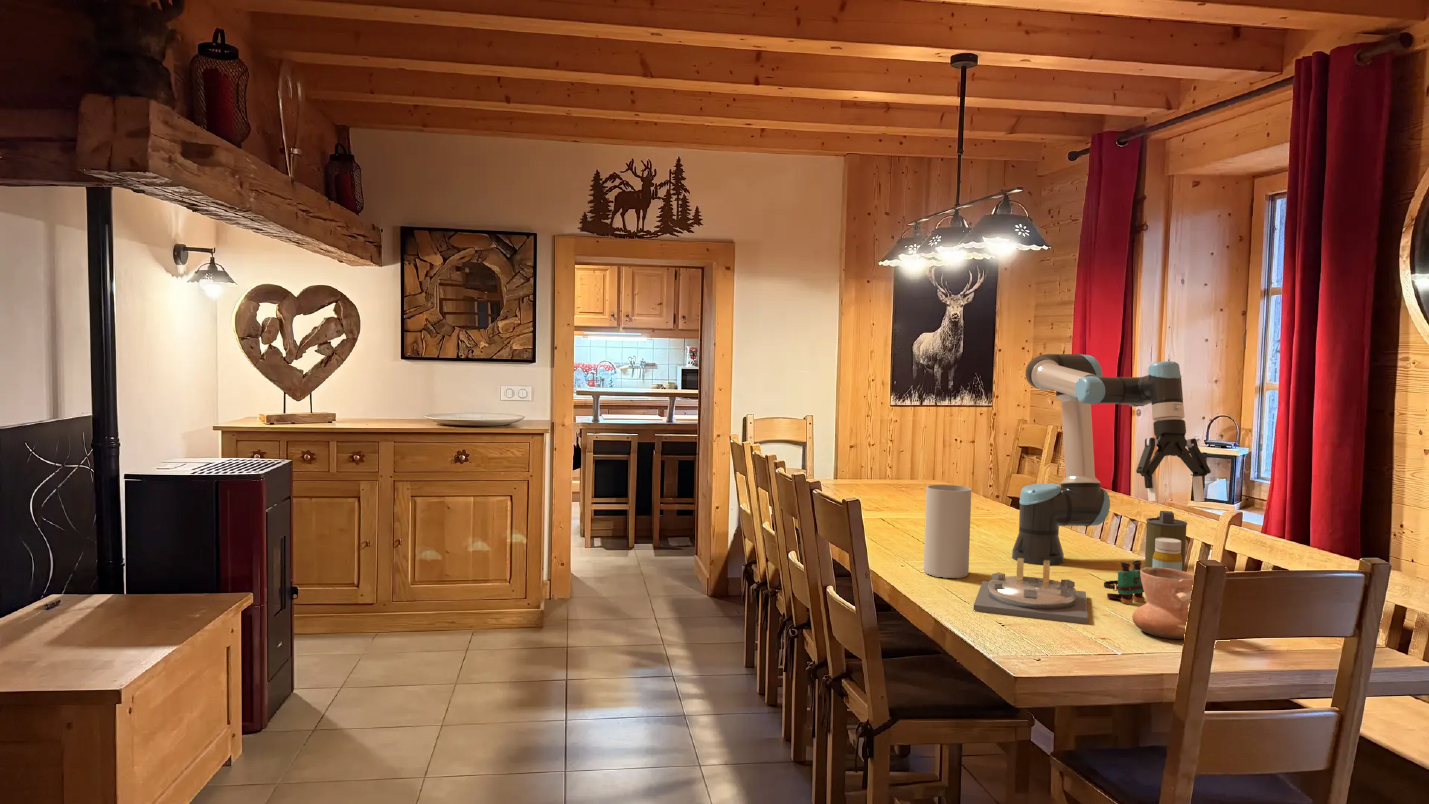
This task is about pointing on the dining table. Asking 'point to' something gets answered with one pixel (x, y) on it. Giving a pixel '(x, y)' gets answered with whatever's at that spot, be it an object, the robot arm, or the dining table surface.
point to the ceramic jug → (1164, 602)
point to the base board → (1067, 615)
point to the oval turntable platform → (1032, 590)
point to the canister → (1164, 534)
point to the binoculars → (1127, 584)
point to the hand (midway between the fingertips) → (1176, 501)
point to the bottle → (1167, 553)
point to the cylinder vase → (947, 531)
